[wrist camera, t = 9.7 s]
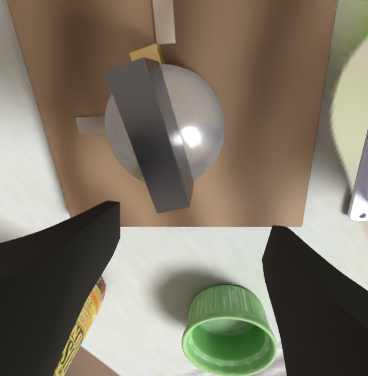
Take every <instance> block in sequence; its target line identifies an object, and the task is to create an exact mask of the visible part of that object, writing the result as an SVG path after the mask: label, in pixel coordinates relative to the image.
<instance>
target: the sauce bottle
mask: <svg viewBox="0 0 368 376" xmlns="http://www.w3.org/2000/svg"><path fill="white" fill-rule="evenodd" d="M104 295H105V283H104V280H103V279H102V277H101V276H100V278H99V280H98V281H97V283H96V285H95V286H94V288H93V290H92V292H91V293H90V295H89V297H88V299H87V300H86V302H85V304H84V306H83V309H82V311H81V313H80V315H79V317H78V319H77V321H76V324H75V326H74V328H73V330H72V333H71V335H70V337H69V339H68V342H67V344H66V346H65V349H64V351H63V353H62V356H61V358H60V361H59V363H58V366H57V368H56V370H55V373H54V375H53V376H65V374H66V372H67V370H68V368H69V366H70V365H71V362H72V360H73V358H74V356H75V355H76V353H77V351H78V348H79V347H80V345H81V343H82V341H83V339H84V337H85V335H86V333H87V331H88V329H89V328H90V326H91V324H92V322H93V320H94V318H95V316H96V314H97V312H98V310H99V308H100V306H101V303H102V300H103V298H104Z"/></svg>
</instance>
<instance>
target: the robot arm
mask: <svg viewBox="0 0 368 376" xmlns="http://www.w3.org/2000/svg"><path fill="white" fill-rule="evenodd" d="M361 213H363V215H361V216H359V215H360V214H361ZM348 217H349V218H350V219H351V220H354V221H365V220H367V221H368V131H367V135H366V139H365V143H364V148H363V152H362V156H361V160H360V164H359V168H358V173H357V177H356V181H355V185H354V189H353V193H352V197H351V201H350V206H349V210H348ZM119 239H120V202H116V201H109V200H107V201H105V202H102V203H100V204H98V205H96V206H94V207H92V208H90V209H88V210H86V211H84V212H82V213H80V214H78V215H76V216H74V217H72V218H70V219H68V220H65V221H63V222H61V223H59V224H56V225H54V226H52V227H49V228H47V229H44V230H41V231H39V232H36V233H33V234H30V235H27V236H24V237H21V238H17V239H13V240H10V241H6V242H3V243H0V376H53V375H54V373H55V370H56V368H57V366H58V363H59V361H60V358H61V356H62V353H63V351H64V349H65V346H66V344H67V342H68V339H69V337H70V335H71V333H72V330H73V328H74V326H75V324H76V321H77V319H78V317H79V315H80V313H81V311H82V309H83V306H84V304H85V302H86V300H87V299H88V297H89V295H90V293H91V292H92V290H93V288H94V286H95V285H96V283H97V281H98V280H99V278H100V276H101V275H102V273H103V271H104V270H105V268H106V266H107V264H108V263H109V261H110V259H111V258H112V256H113V254H114V251H115V249H116V247H117V244H118V242H119ZM262 264H263V272H264V278H265V283H266V286H267V290H268V294H269V297H270V301H271V304H272V308H273V311H274V315H275V318H276V322H277V325H278V329H279V334H280V338H281V343H282V349H283V355H284V360H285V367H286V373H287V376H368V291H367V290H366V289H364V288H363V287H361V286H360V285H358V284H357V283H356V282H354V281H353V280H351V279H350V278H348V277H347V276H346V275H344V274H343V273H341V272H340V271H339V270H338V269H336V268H335V267H334V266H332V265H331V264H330V263H329V262H327V261H326V260H325V259H324V258H323V257H321V256H320V255H319V254H318V253H317V252H315V251H314V250H313V249H312V248H311V247H310V246H309V245H307V244H306V243H305V242H304V241H303V240H302V239H301V238H299V237H298V236H297V235H296V234H295V233H294V232H292V231H291V230H290V229H289V228H287V227H285V226H278V225H273V226H272V229H271V232H270V236H269V239H268V242H267V245H266V248H265V252H264V255H263V258H262Z"/></svg>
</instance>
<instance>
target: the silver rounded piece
mask: <svg viewBox="0 0 368 376" xmlns="http://www.w3.org/2000/svg"><path fill="white" fill-rule="evenodd" d="M129 54H130V57H131V60H132V61H131V62H129V63H126V64H123V65H120V66H117V67H114V68H111V69H108V70H105V71H104V73H105V76H106V78H107V81H108V84H109V86H110V89H111V92H112V94H111V96H110V98H109V101H108V104H107V107H106V112H105V133H106V137H107V141H108V144H109V147H110V149H111V151H112V153H113V155H114V156H115V158H116V159H117V161H118V162H119V163H120V164H121V166H122V167H123V168H124V169H125V170H126V171H127V172H129V173H130V174H131V175H133V176H134V177H136V178H137V179H139V180H141V181H143V182H145V183H146V186H147V188H148V191H149V194H150V196H151V199H152V202H153V204H154V207H155V210H156V212H157V214H159V213H164V212H169V211H174V210H179V209H184V208H189V207H190V205H191V199H192V193H193V186H194V180H196V179H197V178H199V177H201V176H202V175H203V174H204V173H206V172H207V171H208V170H209V168H210V167H211V166H212V165H213V164H214V162H215V161H216V159H217V157H218V155H219V153H220V151H221V148H222V144H223V141H224V133H225V125H224V117H223V113H222V109H221V106H220V103H219V100H218V98H217V95H216V94H215V92H214V90H213V89H212V87H211V86H210V85H209V84H208V82H206V81H205V80H204V79H203V78H202V77H201V76H199V75H198V74H196V73H194V72H193V71H191V70H188V69H185V68H182V67H178V66H174V65H169V64H165V62H164V59H163V55H162V52H161V48H160V46H159V45H157V44H153V45H150V46H147V47H145V48H142V49H139V50H136V51H133V52H130V53H129Z"/></svg>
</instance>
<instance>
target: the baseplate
mask: <svg viewBox="0 0 368 376" xmlns="http://www.w3.org/2000/svg"><path fill="white" fill-rule="evenodd" d="M337 1H338V0H7V3H8V6H9V10H10V13H11V17H12V20H13V23H14V27H15V30H16V34H17V37H18V40H19V44H20V47H21V51H22V54H23V57H24V61H25V64H26V68H27V71H28V74H29V78H30V81H31V85H32V88H33V91H34V95H35V98H36V102H37V105H38V108H39V112H40V115H41V119H42V122H43V125H44V129H45V132H46V136H47V139H48V142H49V146H50V149H51V153H52V156H53V159H54V163H55V166H56V170H57V173H58V176H59V180H60V183H61V187H62V190H63V193H64V197H65V200H66V204H67V207H68V210H69V214H70V217H71V218H72V217H74V216H76V215H78V214H80V213H82V212H84V211H86V210H88V209H90V208H92V207H94V206H96V205H98V204H100V203H102V202H105V201H107V200H109V201H116V202H120V227H272V226H273V225H278V226H285V227H302V223H303V216H304V210H305V204H306V197H307V191H308V185H309V178H310V172H311V166H312V159H313V153H314V147H315V140H316V134H317V128H318V121H319V115H320V109H321V102H322V96H323V90H324V83H325V77H326V71H327V64H328V58H329V51H330V45H331V39H332V32H333V26H334V20H335V13H336V7H337ZM153 44H157V45H159V46H160V48H161V52H162V55H163V59H164V62H165V64H169V65H174V66H178V67H182V68H185V69H188V70H191V71H193V72H194V73H196V74H198V75H199V76H201V77H202V78H203V79H204V80H205V81H206V82H208V84H209V85H210V86H211V87H212V89H213V90H214V92H215V94H216V95H217V98H218V100H219V103H220V106H221V109H222V113H223V117H224V125H225V133H224V141H223V144H222V148H221V151H220V153H219V155H218V157H217V159H216V161H215V162H214V164H213V165H212V166H211V167H210V168H209V170H208V171H207V172H206V173H204V174H203V175H202V176H201V177H199V178H197V179H196V180H194V186H193V193H192V199H191V205H190V207H189V208H184V209H179V210H174V211H169V212H164V213H159V214H157V212H156V210H155V207H154V204H153V202H152V199H151V196H150V194H149V191H148V188H147V186H146V183H145V182H143V181H141V180H139V179H137V178H136V177H134V176H133V175H131V174H130V173H129V172H127V171H126V170H125V169H124V168H123V167H122V166H121V164H120V163H119V162H118V161H117V159H116V158H115V156H114V155H113V153H112V151H111V149H110V147H109V144H108V141H107V137H106V133H105V112H106V107H107V104H108V101H109V98H110V96H111V94H112V92H111V89H110V86H109V84H108V81H107V78H106V76H105V73H104V71H105V70H108V69H111V68H114V67H117V66H120V65H123V64H126V63H129V62H131V61H132V60H131V57H130V54H129V53H130V52H133V51H136V50H139V49H142V48H145V47H147V46H150V45H153Z"/></svg>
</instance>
